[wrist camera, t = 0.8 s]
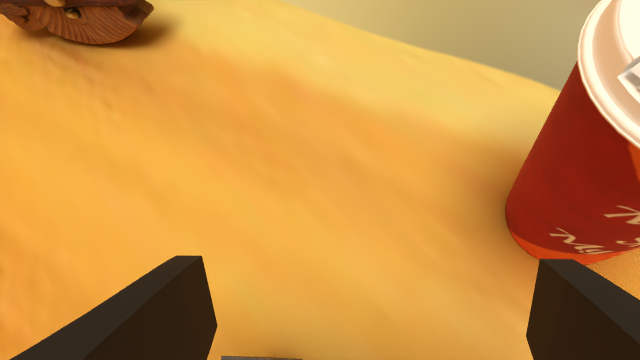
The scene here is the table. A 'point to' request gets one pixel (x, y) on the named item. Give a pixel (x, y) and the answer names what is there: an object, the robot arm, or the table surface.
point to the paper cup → (587, 151)
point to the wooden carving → (79, 17)
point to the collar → (253, 358)
